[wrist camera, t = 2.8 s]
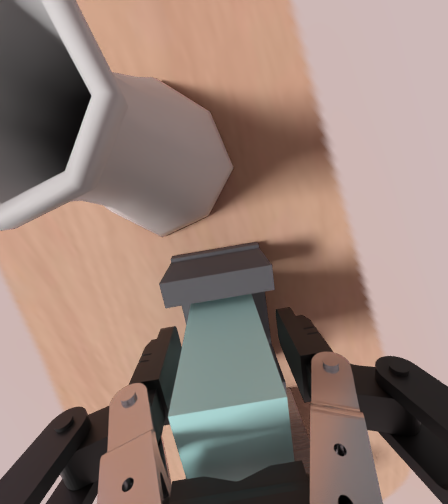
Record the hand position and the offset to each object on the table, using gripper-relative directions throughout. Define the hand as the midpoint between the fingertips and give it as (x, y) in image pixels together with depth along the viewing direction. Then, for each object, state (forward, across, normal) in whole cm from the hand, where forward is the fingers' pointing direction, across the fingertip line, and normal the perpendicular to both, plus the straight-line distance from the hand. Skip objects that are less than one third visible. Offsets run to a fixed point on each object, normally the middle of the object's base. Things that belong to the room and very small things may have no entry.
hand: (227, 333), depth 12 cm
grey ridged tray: (+2, 0, 0) cm, 2 cm away
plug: (+2, 0, 0) cm, 2 cm away
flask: (+3, +2, -9) cm, 10 cm away
